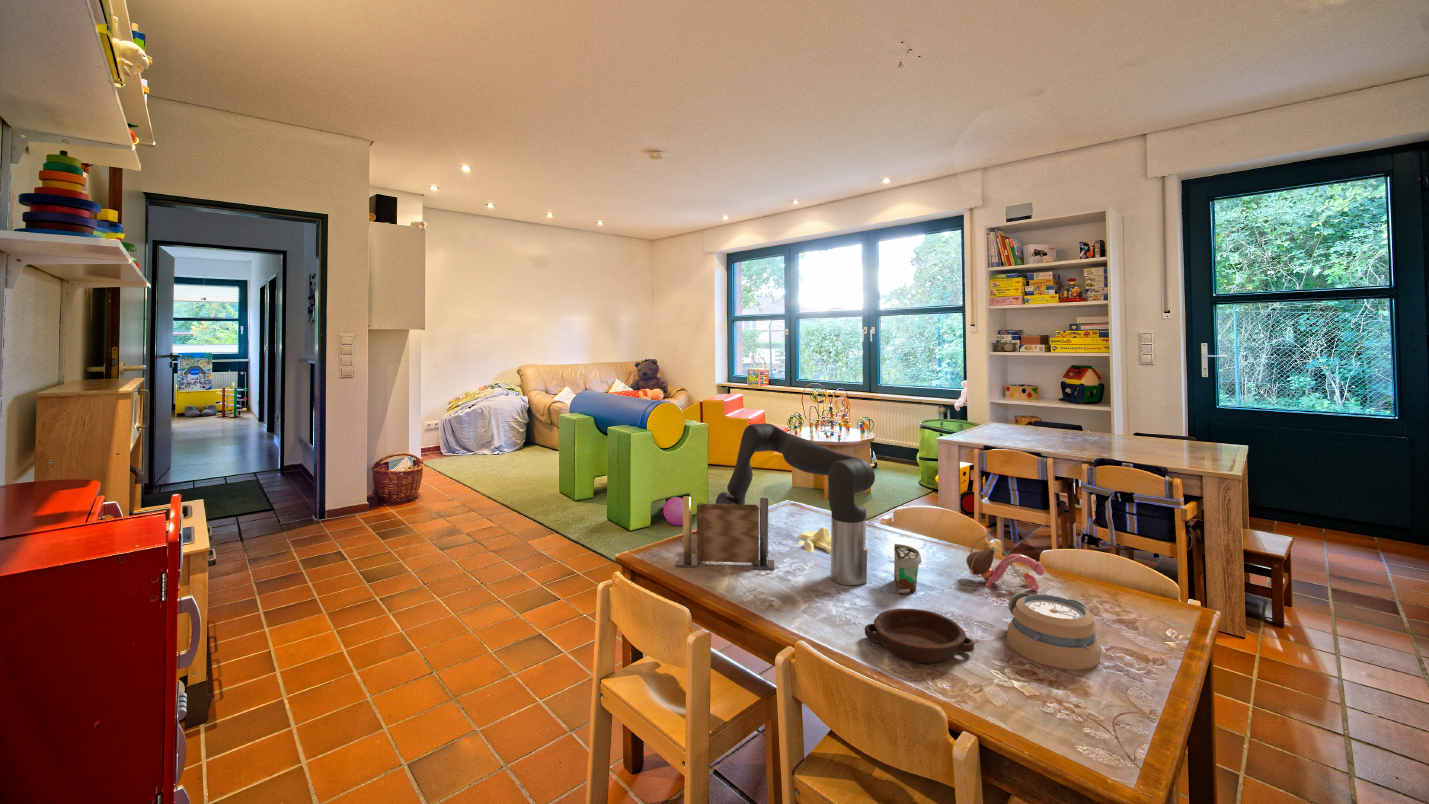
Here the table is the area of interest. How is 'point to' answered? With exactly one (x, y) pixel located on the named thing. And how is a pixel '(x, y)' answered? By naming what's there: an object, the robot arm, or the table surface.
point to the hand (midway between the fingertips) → (722, 535)
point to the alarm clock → (1053, 631)
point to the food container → (906, 569)
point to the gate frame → (687, 543)
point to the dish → (918, 635)
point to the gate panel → (727, 533)
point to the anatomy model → (1001, 566)
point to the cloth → (816, 540)
